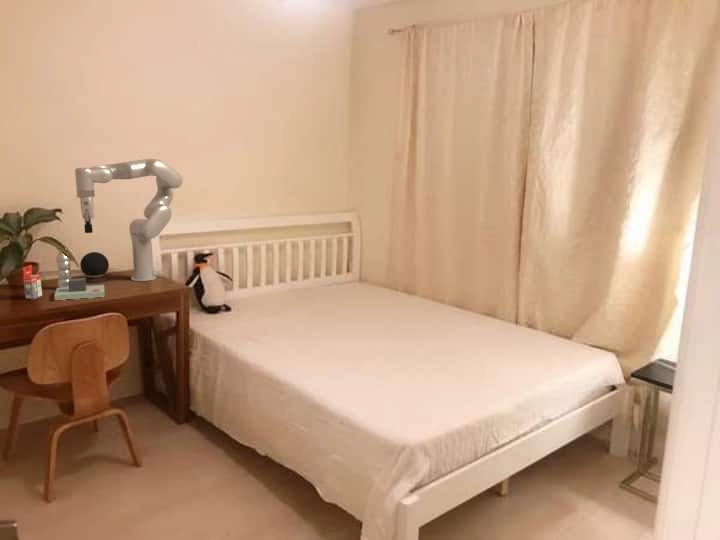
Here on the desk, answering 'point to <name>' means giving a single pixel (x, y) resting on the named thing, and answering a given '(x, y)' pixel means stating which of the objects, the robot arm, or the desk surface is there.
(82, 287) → the plug
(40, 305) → the desk surface
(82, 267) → the round black speaker
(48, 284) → the desk surface
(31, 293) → the ink box
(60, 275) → the plastic bottle
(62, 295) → the pale green book
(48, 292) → the desk surface
